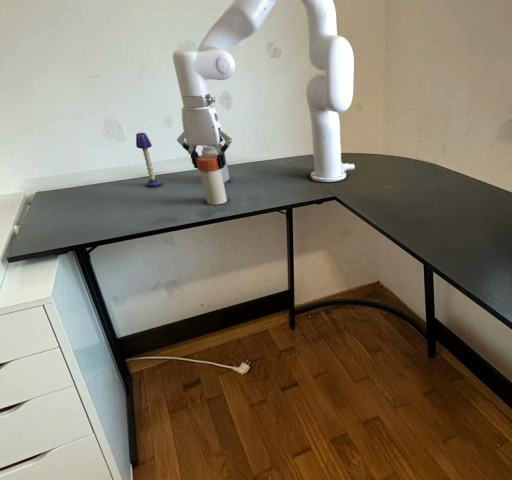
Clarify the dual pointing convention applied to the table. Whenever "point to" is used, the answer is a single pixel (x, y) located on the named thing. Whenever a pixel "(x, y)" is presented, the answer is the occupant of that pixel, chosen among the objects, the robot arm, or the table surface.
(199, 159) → the jar lid
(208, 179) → the jar
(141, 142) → the toy lamp
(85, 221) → the table surface
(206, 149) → the can
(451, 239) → the table surface
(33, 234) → the table surface
